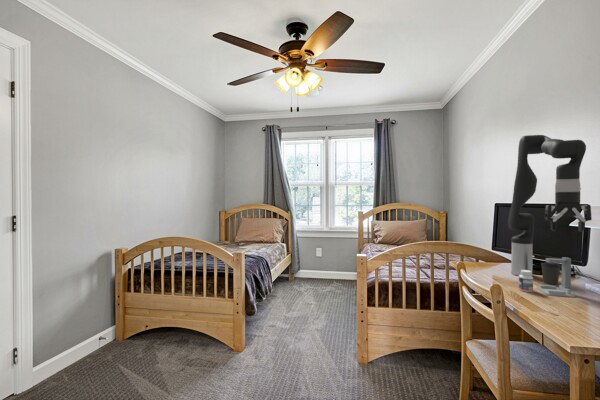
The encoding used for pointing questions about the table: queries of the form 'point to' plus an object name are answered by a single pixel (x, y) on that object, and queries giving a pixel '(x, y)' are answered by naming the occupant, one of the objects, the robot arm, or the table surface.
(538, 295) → the table surface
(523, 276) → the pill bottle
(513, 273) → the robot arm
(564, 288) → the stand
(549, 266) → the coffee cup
